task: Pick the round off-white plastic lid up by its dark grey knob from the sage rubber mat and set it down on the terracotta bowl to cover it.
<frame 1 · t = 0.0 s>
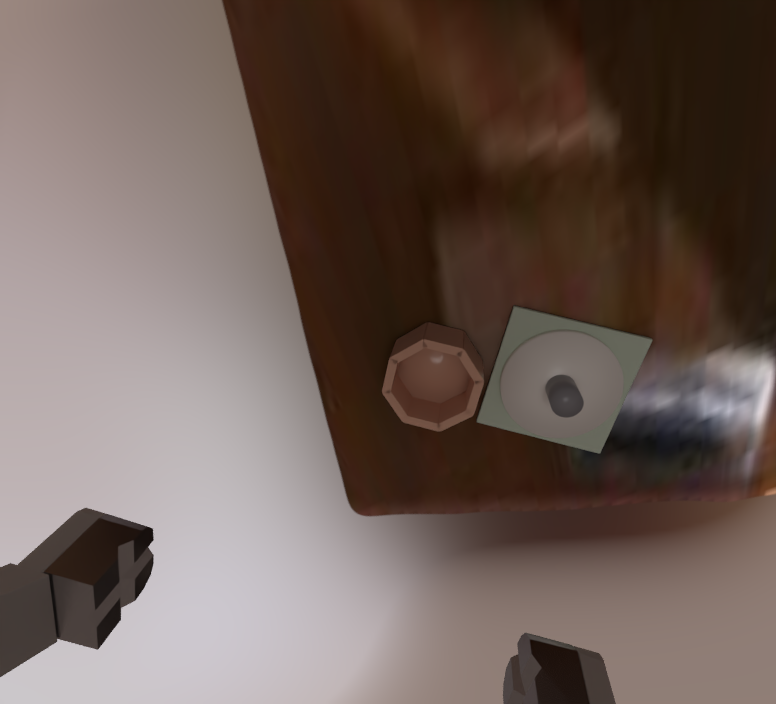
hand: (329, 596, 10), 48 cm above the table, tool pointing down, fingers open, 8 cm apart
mat: (558, 381, 58), on the table
bowl: (435, 366, 60), on the table
lid: (558, 383, 57), point 1 cm above the table, touching mat
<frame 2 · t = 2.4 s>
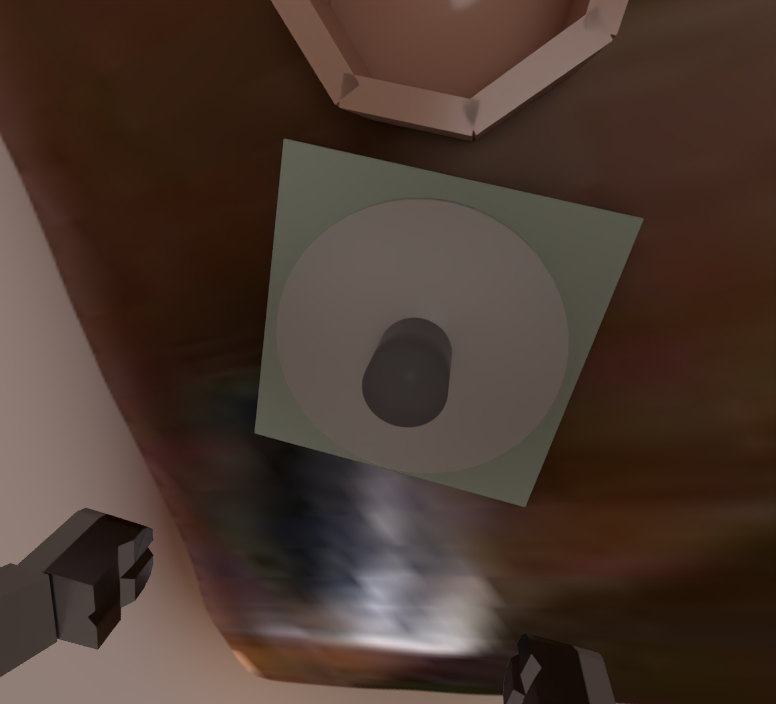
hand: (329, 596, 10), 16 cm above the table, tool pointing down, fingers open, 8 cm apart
mat: (419, 339, 24), on the table
lid: (417, 343, 24), point 1 cm above the table, touching mat
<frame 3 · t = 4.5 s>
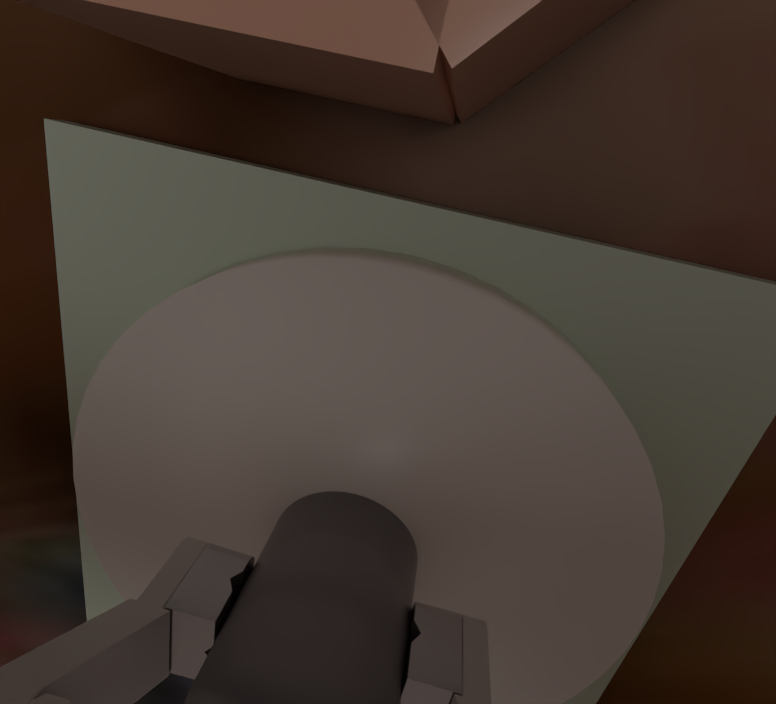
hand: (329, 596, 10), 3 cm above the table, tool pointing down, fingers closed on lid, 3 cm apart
mat: (358, 500, 13), on the table
lid: (355, 516, 12), point 1 cm above the table, touching gripper, mat
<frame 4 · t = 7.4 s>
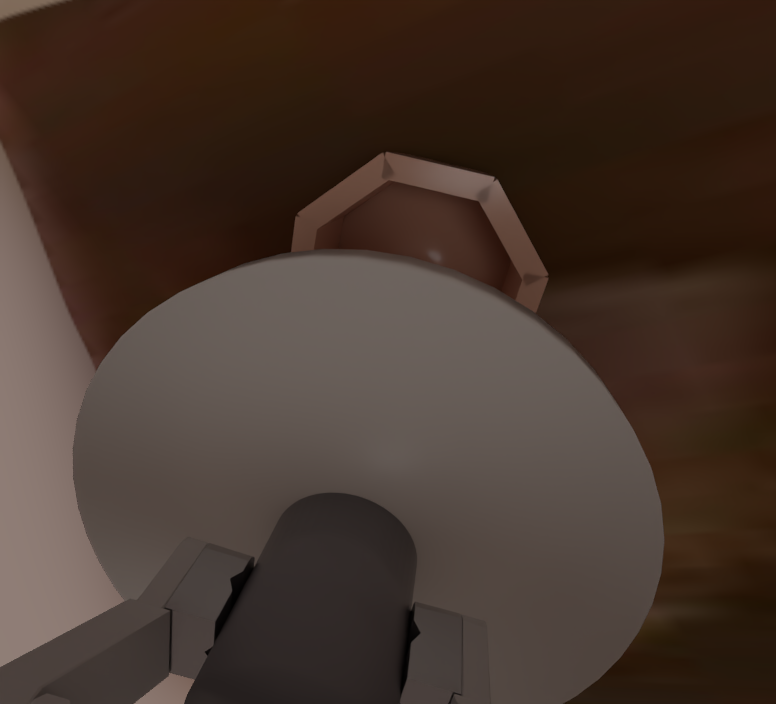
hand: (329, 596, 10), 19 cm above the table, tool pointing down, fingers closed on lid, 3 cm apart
bowl: (420, 267, 26), on the table
lid: (355, 517, 12), point 17 cm above the table, touching gripper
when the fingers open (10 cm above the table, at t = 10.2 s): lid drops 1 cm, resting on bowl.
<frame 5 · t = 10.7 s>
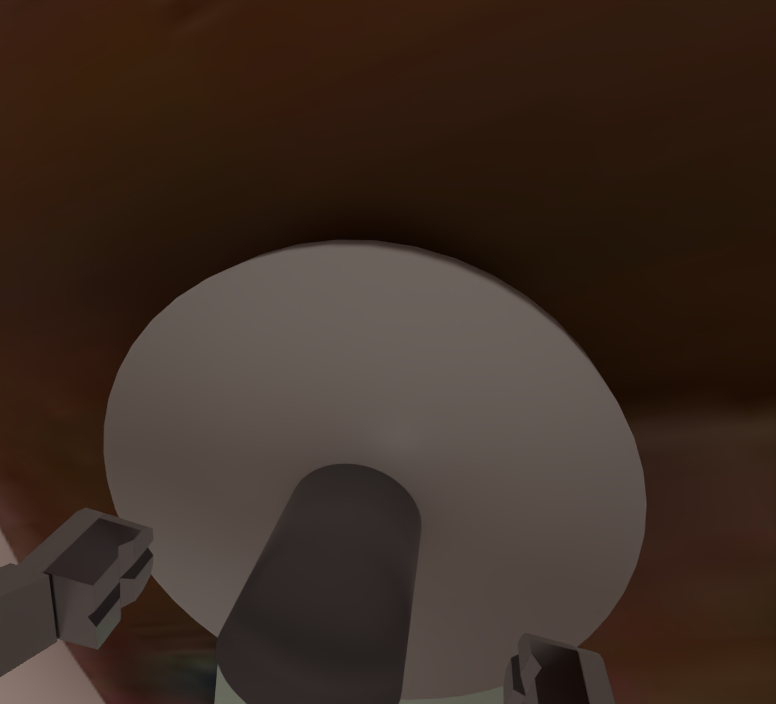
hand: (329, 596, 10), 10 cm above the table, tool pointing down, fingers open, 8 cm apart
mat: (371, 649, 25), on the table
lid: (363, 490, 13), point 6 cm above the table, touching bowl
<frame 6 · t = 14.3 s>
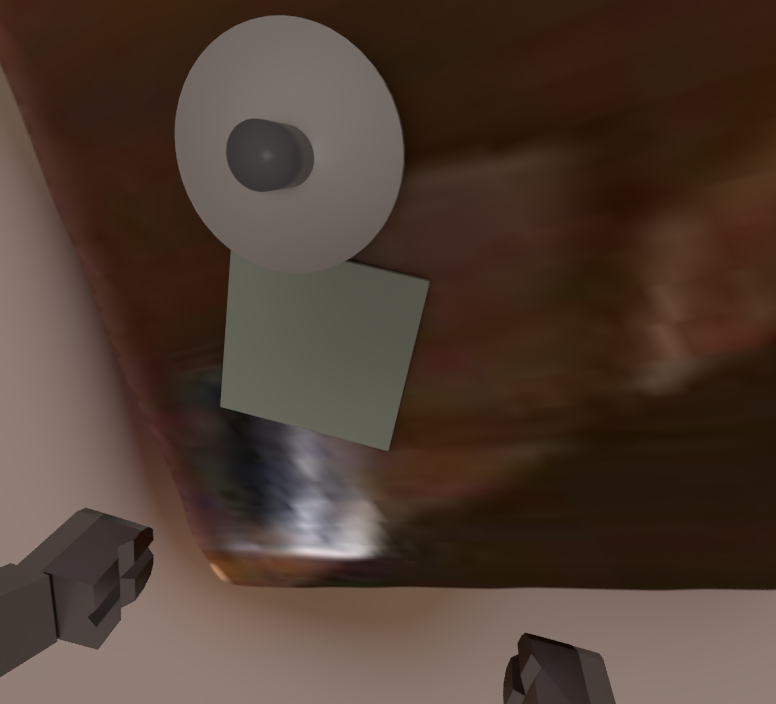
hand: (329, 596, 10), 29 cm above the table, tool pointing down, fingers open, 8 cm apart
mat: (317, 347, 40), on the table
lid: (292, 156, 29), point 6 cm above the table, touching bowl
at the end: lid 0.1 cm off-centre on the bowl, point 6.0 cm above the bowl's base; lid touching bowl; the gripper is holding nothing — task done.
